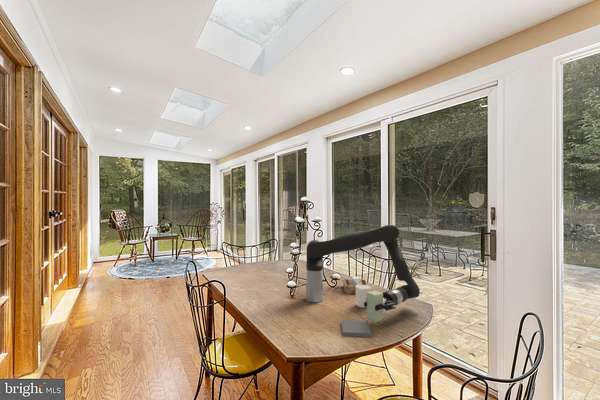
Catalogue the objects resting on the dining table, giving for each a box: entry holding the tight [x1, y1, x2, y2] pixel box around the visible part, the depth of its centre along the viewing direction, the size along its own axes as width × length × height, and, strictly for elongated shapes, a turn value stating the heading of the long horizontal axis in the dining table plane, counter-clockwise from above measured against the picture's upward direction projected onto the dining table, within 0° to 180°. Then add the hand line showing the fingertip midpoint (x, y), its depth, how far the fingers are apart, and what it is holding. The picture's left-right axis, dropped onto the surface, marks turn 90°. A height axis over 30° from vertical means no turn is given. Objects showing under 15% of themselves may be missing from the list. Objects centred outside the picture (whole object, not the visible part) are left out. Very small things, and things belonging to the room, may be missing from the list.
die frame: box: [342, 278, 369, 295], centre depth 189 cm, size 14×15×4 cm
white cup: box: [355, 284, 372, 308], centre depth 163 cm, size 8×8×10 cm
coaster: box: [340, 319, 373, 338], centre depth 133 cm, size 12×12×2 cm
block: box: [366, 290, 384, 323], centre depth 139 cm, size 5×5×12 cm
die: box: [348, 275, 363, 286], centre depth 189 cm, size 8×9×10 cm
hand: (370, 306), depth 137 cm, fingers closed on block, 5 cm apart
